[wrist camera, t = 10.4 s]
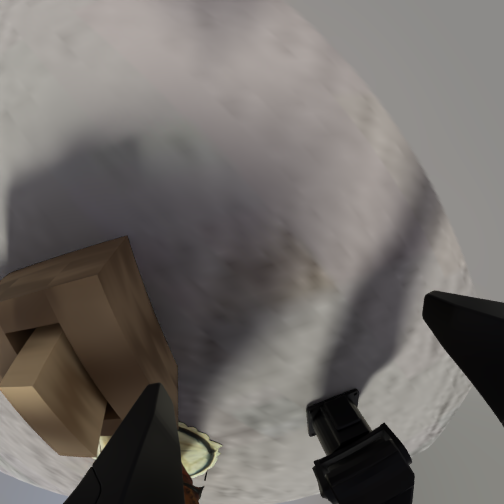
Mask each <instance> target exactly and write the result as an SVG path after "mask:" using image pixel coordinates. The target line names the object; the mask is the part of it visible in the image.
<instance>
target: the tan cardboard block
mask: <svg viewBox="0 0 504 504" xmlns="http://www.w3.org/2000/svg"><path fill="white" fill-rule="evenodd" d="M0 390H1V392H2V393H3V394H4V396H5V397H6V398H7V399H8V401H9V402H10V403H11V405H12V406H13V407H14V408H15V409H16V411H17V412H18V413H19V414H20V415H21V416H22V418H23V419H24V420H25V421H26V422H27V423H28V424H29V425H30V426H31V428H32V429H33V430H34V431H35V432H36V433H37V434H38V435H39V436H40V437H41V438H42V439H43V440H44V441H45V442H46V443H47V444H48V445H49V446H50V447H51V448H52V449H53V450H54V451H55V452H57V453H58V454H59V455H62V456H74V457H97V451H98V445H99V440H100V434H101V429H102V424H103V419H104V414H105V410H106V405H107V400H106V398H105V397H104V396H103V394H102V393H101V391H100V390H99V388H98V387H97V386H96V384H95V383H94V381H93V380H92V378H91V377H90V375H89V373H88V372H87V370H86V369H85V367H84V366H83V364H82V362H81V361H80V359H79V357H78V356H77V354H76V352H75V351H74V349H73V347H72V345H71V344H70V342H69V340H68V338H67V336H66V335H65V333H64V331H63V329H62V327H61V325H60V323H55V324H50V325H45V326H41V327H37V328H36V329H35V330H34V332H33V333H32V335H31V336H30V337H29V339H28V340H27V342H26V343H25V345H24V346H23V348H22V349H21V351H20V352H19V354H18V355H17V357H16V358H15V360H14V361H13V363H12V365H11V366H10V368H9V369H8V371H7V373H6V374H5V376H4V378H3V379H2V381H1V383H0Z"/></svg>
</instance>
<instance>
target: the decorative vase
mask: <svg viewBox="0 0 504 504" xmlns="http://www.w3.org/2000/svg"><path fill="white" fill-rule="evenodd" d="M178 426H179V430H177V431H178V436H179V442H180V449H181V462H182V476H183V488H184V498H185V504H199V502H198V500H199V499H200V497H201V493H202V490H203V488H204V486H203V487H195V486H194V485H192V484H193V482H192V479H191V478H196V477H197V476H199V475H203V474H204V473H205V472H206V471H207V470H208V469H210V468H211V467H213V466H214V464H215V462H216V461H217V456H218V455H220V453H219V452H218V448H220V447H221V446H222V445H220V444H218V443H215V442H212V441H210V440H209V437H208V436H207V435H206V434H203V433H200V432H198V431H197V430H196V428H194V427H187V426H186V425H185V424H184V423H181V422H178ZM111 437H112V436H100V440H99V445H98V451H97V457H98V456H99V454H100V453H101V451H102V450H103V448H104V447H105V445H106V444H107V443H108V441H109V440H110V438H111ZM97 457H92V458H93V459H97ZM206 475H207V472H206ZM206 475H205V479H204V481H206Z"/></svg>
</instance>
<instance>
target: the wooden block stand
mask: <svg viewBox="0 0 504 504" xmlns="http://www.w3.org/2000/svg"><path fill="white" fill-rule="evenodd" d="M55 323H60V325H61V327H62V329H63V331H64V333H65V335H66V336H67V338H68V340H69V342H70V344H71V345H72V347H73V349H74V351H75V352H76V354H77V356H78V357H79V359H80V361H81V362H82V364H83V366H84V367H85V369H86V370H87V372H88V373H89V375H90V377H91V378H92V380H93V381H94V383H95V384H96V386H97V387H98V388H99V390H100V391H101V393H102V394H103V396H104V397H105V398H106V400H107V405H106V410H105V414H104V419H103V424H102V429H101V434H100V436H112V435H113V434H114V432H115V431H116V429H117V428H118V427H119V425H120V424H121V422H122V421H123V419H124V418H125V416H126V415H127V413H128V412H129V411H130V409H131V408H132V406H133V405H134V403H135V402H136V400H137V399H138V398H139V396H140V395H141V393H142V392H143V390H144V389H145V387H146V386H147V385H148V384H152V383H158V382H159V383H161V384H162V385H163V386H164V388H165V390H166V391H167V393H168V395H169V396H170V398H171V400H172V402H173V406H174V412H175V419H176V425H177V430H179V426H178V366H177V364H176V362H175V360H174V358H173V355H172V353H171V351H170V349H169V346H168V344H167V342H166V340H165V337H164V335H163V333H162V330H161V328H160V325H159V323H158V321H157V318H156V316H155V313H154V311H153V308H152V306H151V303H150V300H149V298H148V295H147V292H146V290H145V287H144V284H143V282H142V279H141V276H140V273H139V270H138V267H137V264H136V261H135V258H134V255H133V252H132V249H131V246H130V243H129V240H128V236H124V237H120V238H117V239H113V240H110V241H106V242H103V243H100V244H96V245H93V246H90V247H87V248H83V249H80V250H77V251H74V252H71V253H67V254H64V255H61V256H58V257H55V258H52V259H49V260H46V261H43V262H40V263H37V264H34V265H31V266H28V267H26V268H23V269H20V270H17V271H14V272H11V273H9V274H8V275H7V276H5V277H4V278H3V279H2V280H1V281H0V383H1V381H2V379H3V378H4V376H5V374H6V373H7V371H8V369H9V368H10V366H11V365H12V363H13V361H14V360H15V358H16V357H17V355H18V354H19V352H20V351H21V349H22V348H23V346H24V345H25V343H26V342H27V340H28V339H29V337H30V336H31V335H32V333H33V332H34V330H35V329H36V328H37V327H41V326H45V325H50V324H55Z"/></svg>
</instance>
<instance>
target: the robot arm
mask: <svg viewBox="0 0 504 504" xmlns="http://www.w3.org/2000/svg"><path fill="white" fill-rule="evenodd" d="M422 316H423V319H424V321H425V322H426V324H427V325H428V326H429V328H430V329H431V331H432V332H433V334H434V335H435V336H436V338H437V339H438V341H439V342H440V344H441V345H442V346H443V348H444V349H445V350H446V352H447V353H448V354H449V355H450V357H451V358H452V359H453V360H454V361H455V363H456V364H457V365H458V366H459V368H460V369H461V370H462V371H463V373H464V374H465V375H466V376H467V378H468V379H469V380H470V381H471V383H472V384H473V385H474V386H475V388H476V389H477V390H478V392H479V393H480V394H481V395H482V397H483V398H484V400H485V401H486V402H487V404H488V405H489V406H490V408H491V409H492V410H493V412H494V413H495V415H496V416H497V418H498V419H499V421H500V422H501V423H502V425H503V427H504V303H502V302H497V301H491V300H485V299H480V298H474V297H468V296H463V295H457V294H451V293H446V292H440V291H432V292H430V293H428V294H426V295H425V297H424V304H423V312H422ZM358 398H359V391H358V390H357V389H354V390H351V391H349V392H347V393H344V394H342V395H339V396H337V397H334V398H332V399H329V400H326V401H324V402H321V403H318V404H316V405H313V406H310V407H308V408H307V409H306V414H307V424H308V434H309V436H310V437H312V436H315V435H317V437H318V439H319V441H320V443H321V445H322V447H323V449H324V451H325V453H326V455H327V456H325V457H323V458H321V459H319V460H315V461H314V464H315V466H314V467H313V468H312V469H313V471H314V473H315V476H316V478H317V481H318V485H319V490H320V494H321V496H322V497H323V498H326V499H328V500H329V501H330V502H331V503H332V504H412V499H413V489H414V478H415V476H414V473H413V471H412V470H411V468H410V466H409V465H410V464H411V463H412V460H411V457H410V455H409V453H408V451H407V450H406V448H405V447H404V445H403V444H402V443H401V441H400V440H399V439H398V438H397V437H396V436H395V434H394V433H393V432H392V431H391V430H390V429H389V427H388V426H387V425H386V424H385V423H383V424H381V425H380V426H379V427H378V428H376V429H375V430H373V431H372V430H371V428H370V427H369V425H368V424H367V422H366V420H365V419H364V417H363V416H362V414H361V413H360V411H359V410H358V408H357V406H358ZM92 466H93V467H90V469H89V470H88V472H87V473H86V475H85V476H84V478H83V479H82V480H81V482H80V483H79V485H78V486H77V487H76V489H75V490H74V491H73V492H72V493H71V495H70V496H69V497H68V498H67V500H66V501H65V502H64V503H63V504H185V498H184V488H183V476H182V462H181V449H180V442H179V436H178V431H177V425H176V419H175V412H174V406H173V402H172V400H171V398H170V396H169V395H168V393H167V391H166V390H165V388H164V386H163V385H162V384H161V383H159V382H158V383H152V384H148V385H147V386H146V387H145V389H144V390H143V392H142V393H141V395H140V396H139V398H138V399H137V400H136V402H135V403H134V405H133V406H132V408H131V409H130V411H129V412H128V413H127V415H126V416H125V418H124V419H123V421H122V422H121V424H120V425H119V427H118V428H117V429H116V431H115V432H114V434H113V435H112V437H111V438H110V440H109V441H108V443H107V444H106V445H105V447H104V448H103V450H102V451H101V453H100V454H99V456H98V457H97V459H96V460H95V462H94V463H93V465H92Z"/></svg>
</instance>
